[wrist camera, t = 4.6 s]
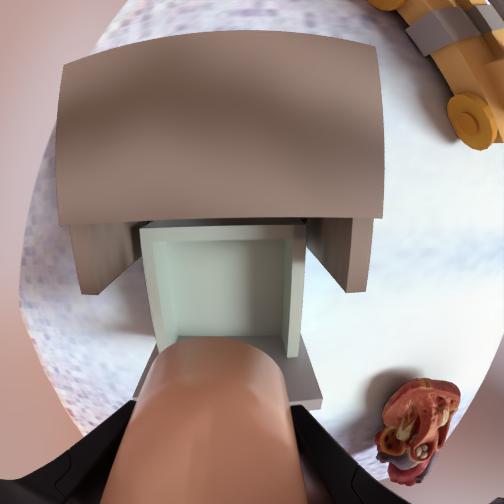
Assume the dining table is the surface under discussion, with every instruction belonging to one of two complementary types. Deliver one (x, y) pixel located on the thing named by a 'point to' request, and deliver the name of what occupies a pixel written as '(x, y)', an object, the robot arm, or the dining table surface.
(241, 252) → the drawer
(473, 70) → the toy cannon
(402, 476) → the anatomical model
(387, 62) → the dining table surface
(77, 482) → the robot arm
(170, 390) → the tan rounded cylinder
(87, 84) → the housing
